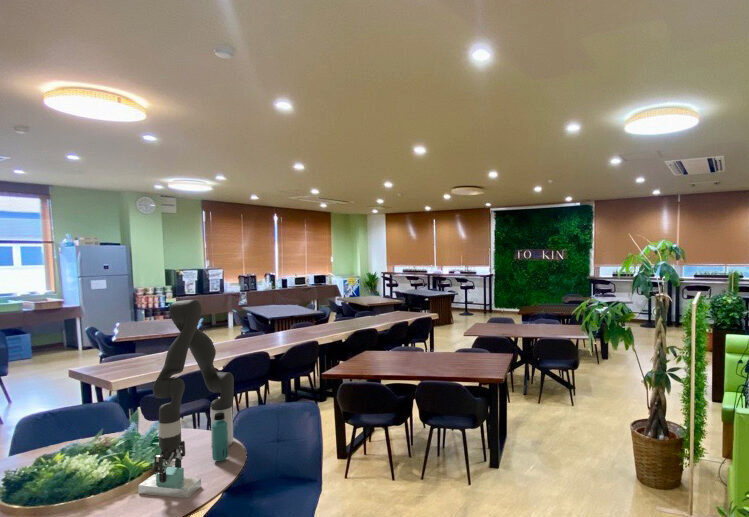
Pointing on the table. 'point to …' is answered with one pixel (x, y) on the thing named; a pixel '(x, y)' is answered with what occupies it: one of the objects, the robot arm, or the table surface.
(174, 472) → the clip
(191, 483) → the pale grey flat slab
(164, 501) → the table surface
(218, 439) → the beverage bottle
